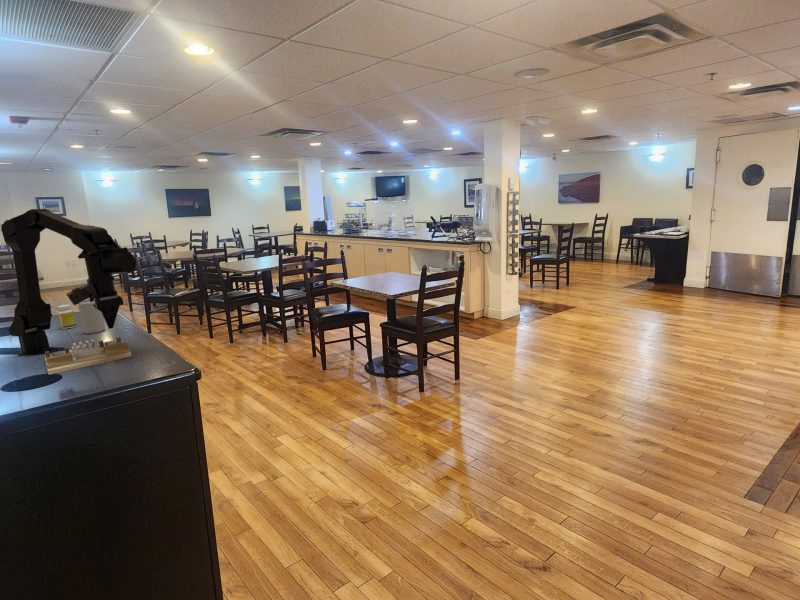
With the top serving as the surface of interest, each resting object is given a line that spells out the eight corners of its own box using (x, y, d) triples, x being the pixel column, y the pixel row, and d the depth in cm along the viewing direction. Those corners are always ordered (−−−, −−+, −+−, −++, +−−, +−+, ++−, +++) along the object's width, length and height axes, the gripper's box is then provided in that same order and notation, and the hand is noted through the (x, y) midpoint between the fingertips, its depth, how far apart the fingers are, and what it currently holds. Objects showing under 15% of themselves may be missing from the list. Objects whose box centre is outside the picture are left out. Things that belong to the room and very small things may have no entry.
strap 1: (51, 355, 134) (50, 351, 134) (63, 353, 136) (62, 349, 136) (53, 363, 125) (52, 358, 125) (66, 360, 127) (65, 356, 127)
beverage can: (95, 334, 162) (88, 300, 160) (79, 334, 163) (72, 300, 161) (110, 329, 168) (103, 296, 166) (94, 329, 170) (87, 296, 167)
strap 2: (104, 344, 142) (104, 341, 142) (115, 342, 144) (114, 339, 144) (110, 350, 133) (109, 346, 133) (121, 348, 135) (120, 344, 135)
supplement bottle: (79, 326, 177) (75, 304, 175) (67, 329, 173) (62, 307, 171) (70, 326, 179) (65, 304, 177) (58, 329, 174) (53, 307, 173)
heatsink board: (45, 358, 137) (41, 345, 136) (119, 342, 148) (117, 330, 148) (48, 374, 122) (45, 359, 121) (131, 356, 133) (129, 342, 132)
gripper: (62, 275, 134) (74, 329, 137) (68, 281, 120) (80, 340, 123) (107, 270, 141) (117, 321, 144) (118, 274, 127) (129, 331, 130)
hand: (110, 328), depth 135 cm, fingers closed
